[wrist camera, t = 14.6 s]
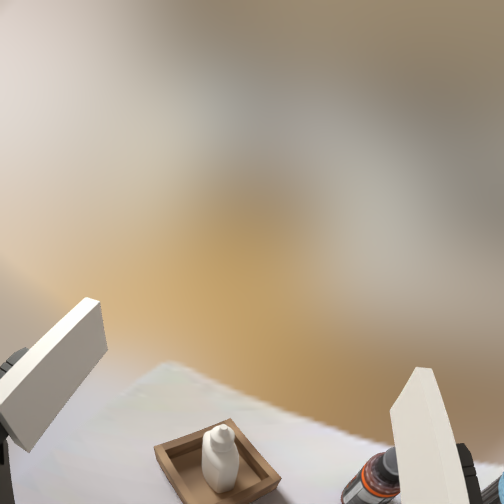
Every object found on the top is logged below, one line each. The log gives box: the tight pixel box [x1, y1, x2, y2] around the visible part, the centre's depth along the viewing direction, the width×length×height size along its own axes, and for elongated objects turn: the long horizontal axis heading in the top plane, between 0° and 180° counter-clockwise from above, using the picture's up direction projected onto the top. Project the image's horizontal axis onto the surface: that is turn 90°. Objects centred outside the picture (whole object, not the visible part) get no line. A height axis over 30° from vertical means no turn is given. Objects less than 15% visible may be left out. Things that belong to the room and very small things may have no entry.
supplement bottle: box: [341, 447, 400, 504], centre depth 27 cm, size 6×6×11 cm
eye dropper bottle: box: [202, 424, 239, 493], centre depth 29 cm, size 4×6×12 cm
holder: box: [154, 418, 281, 504], centre depth 31 cm, size 11×11×4 cm
